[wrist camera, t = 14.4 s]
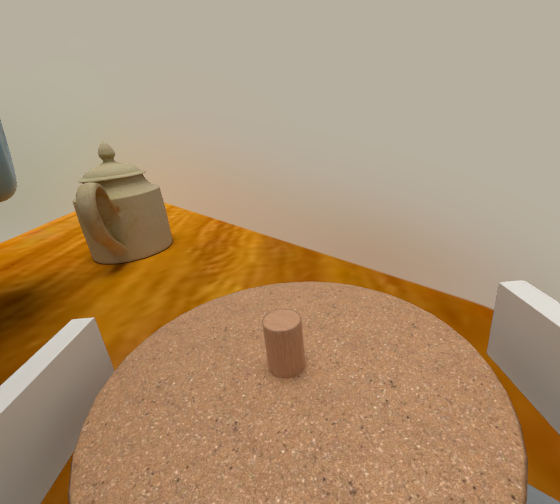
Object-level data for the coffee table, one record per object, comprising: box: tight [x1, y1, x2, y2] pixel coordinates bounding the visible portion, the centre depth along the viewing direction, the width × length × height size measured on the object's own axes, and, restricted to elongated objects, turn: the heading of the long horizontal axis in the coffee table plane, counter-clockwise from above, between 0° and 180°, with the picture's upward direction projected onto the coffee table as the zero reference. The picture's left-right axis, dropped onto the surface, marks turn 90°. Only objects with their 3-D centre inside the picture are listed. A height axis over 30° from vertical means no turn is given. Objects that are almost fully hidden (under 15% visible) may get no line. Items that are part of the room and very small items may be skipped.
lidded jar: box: [68, 282, 528, 504], centre depth 10 cm, size 11×11×9 cm
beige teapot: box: [73, 142, 172, 264], centre depth 42 cm, size 15×11×15 cm
